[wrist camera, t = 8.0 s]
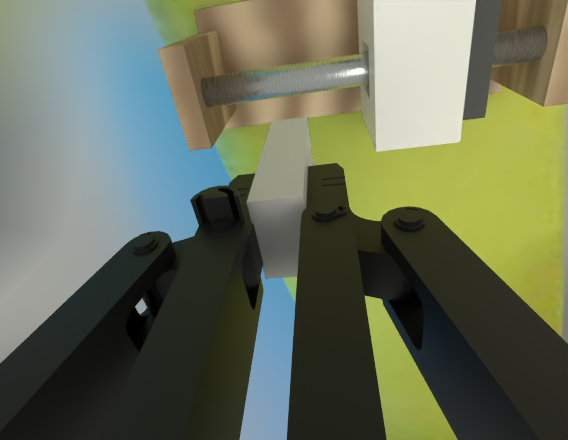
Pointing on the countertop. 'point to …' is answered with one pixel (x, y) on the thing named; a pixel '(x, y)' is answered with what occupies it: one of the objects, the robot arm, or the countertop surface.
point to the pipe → (345, 71)
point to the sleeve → (415, 70)
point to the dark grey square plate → (481, 57)
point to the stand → (322, 45)
